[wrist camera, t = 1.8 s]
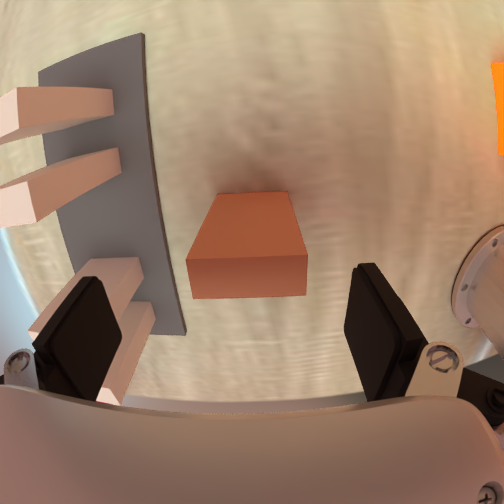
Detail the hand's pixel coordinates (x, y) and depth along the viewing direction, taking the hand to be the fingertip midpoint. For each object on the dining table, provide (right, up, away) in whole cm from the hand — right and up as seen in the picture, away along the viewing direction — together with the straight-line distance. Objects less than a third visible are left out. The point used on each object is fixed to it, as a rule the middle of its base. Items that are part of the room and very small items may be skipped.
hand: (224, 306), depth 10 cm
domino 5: (+1, +5, +11) cm, 12 cm away
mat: (-11, +6, +11) cm, 17 cm away
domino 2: (-11, +9, +9) cm, 17 cm away
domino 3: (-11, +1, +13) cm, 17 cm away
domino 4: (-10, -3, +15) cm, 19 cm away
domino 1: (-11, +13, +7) cm, 18 cm away
